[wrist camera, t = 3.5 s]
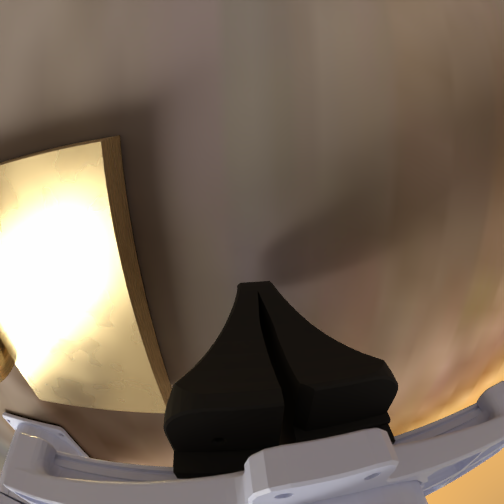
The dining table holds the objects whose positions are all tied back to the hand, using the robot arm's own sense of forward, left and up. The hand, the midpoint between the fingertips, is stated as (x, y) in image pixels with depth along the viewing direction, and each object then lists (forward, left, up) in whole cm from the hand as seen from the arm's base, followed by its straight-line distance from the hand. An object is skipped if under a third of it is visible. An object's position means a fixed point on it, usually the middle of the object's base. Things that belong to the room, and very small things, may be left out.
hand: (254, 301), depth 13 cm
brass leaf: (0, +12, -1) cm, 12 cm away
